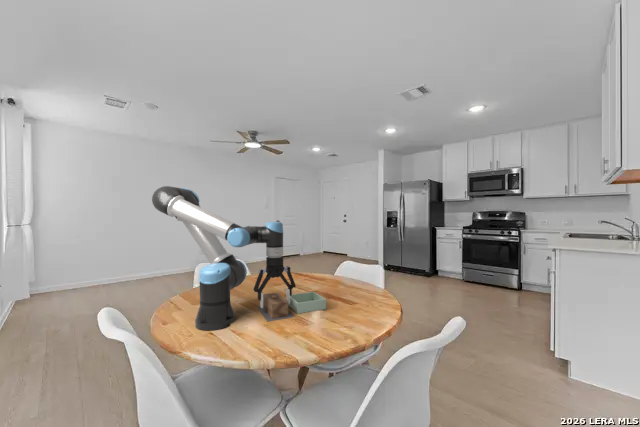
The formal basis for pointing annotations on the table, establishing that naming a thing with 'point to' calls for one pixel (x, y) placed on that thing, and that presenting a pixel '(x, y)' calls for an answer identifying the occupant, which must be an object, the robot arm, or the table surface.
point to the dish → (307, 302)
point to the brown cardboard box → (275, 305)
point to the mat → (270, 317)
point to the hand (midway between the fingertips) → (275, 305)
